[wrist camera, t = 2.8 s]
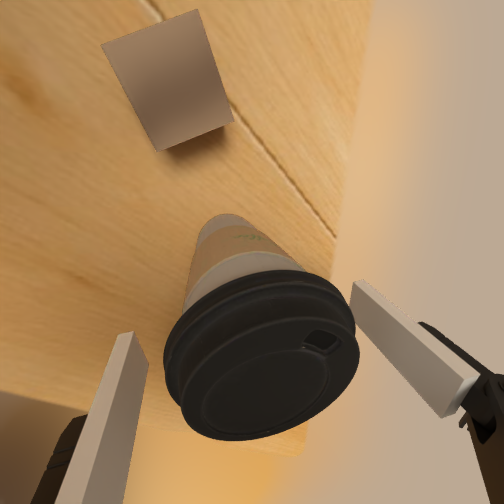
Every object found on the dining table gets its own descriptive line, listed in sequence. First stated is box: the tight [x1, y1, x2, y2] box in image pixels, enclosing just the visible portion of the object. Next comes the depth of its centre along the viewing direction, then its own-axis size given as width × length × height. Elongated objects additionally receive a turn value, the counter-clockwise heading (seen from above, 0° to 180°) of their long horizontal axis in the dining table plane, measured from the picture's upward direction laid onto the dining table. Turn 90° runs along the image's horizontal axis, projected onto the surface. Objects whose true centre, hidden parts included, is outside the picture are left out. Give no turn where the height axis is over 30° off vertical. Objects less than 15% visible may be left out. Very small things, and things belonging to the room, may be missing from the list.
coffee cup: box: [163, 214, 360, 441], centre depth 16 cm, size 9×9×15 cm
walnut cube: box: [101, 9, 234, 152], centre depth 14 cm, size 5×5×5 cm
